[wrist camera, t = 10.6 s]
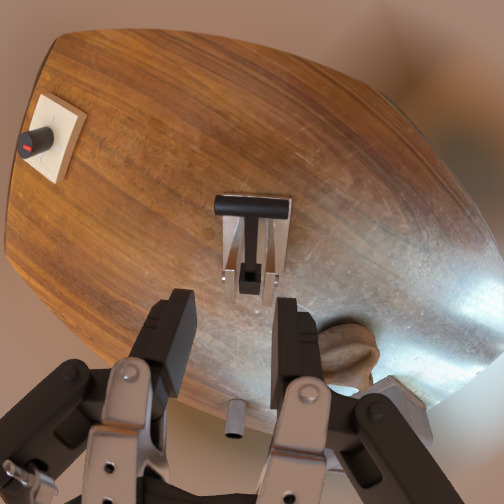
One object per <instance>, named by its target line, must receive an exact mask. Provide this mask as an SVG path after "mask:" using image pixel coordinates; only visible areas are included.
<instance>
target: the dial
mask: <svg viewBox="0 0 504 504" xmlns="http://www.w3.org/2000/svg"><path fill="white" fill-rule="evenodd" d="M53 141H54V135H53V132H52V130H51V129H50V128H49V127H42V128H38V129H35V130H31V131H28V132H24V133H22V134H21V135H20V137H19V139H18V143H17V148H18V153H19V155H20V156H21V157H22V158H23V159H27V158H30V157H32V156H35V155H37V154H40V153H42V152H45V151H48V150H49V149H50V148H51V147H52V145H53Z"/></svg>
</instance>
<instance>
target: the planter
mask: <svg viewBox="0 0 504 504" xmlns="http://www.w3.org/2000/svg"><path fill="white" fill-rule="evenodd" d="M245 412H246V402H245V401H243V400H240V399H233V400H230V401H229V406H228V413H227V421H226V428H225V436H226V437H228V438H231V439H241V438H243V432H244V423H245Z"/></svg>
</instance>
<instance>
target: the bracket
mask: <svg viewBox="0 0 504 504" xmlns="http://www.w3.org/2000/svg"><path fill="white" fill-rule="evenodd" d="M223 195H228V196H247V197H262V198H276V199H288V200H289V216H288V220H281V219H267V218H259V225H258V243H257V262H256V263H259V264H262V267H261V274H264V282H263V303H262V305H263V306H272V299H273V290H274V287H278V281H279V275H281V276H283V272H284V264H285V256H286V248H287V240H288V231H289V223H290V214H291V205H292V197H291V196H281V195H268V194H253V193H236V192H224V194H223ZM241 262H245V247H244V217H237V216H223V273H222V283H225V303H232V304H234V303H235V298H236V292H237V286H238V280H239V275H240V267H241Z"/></svg>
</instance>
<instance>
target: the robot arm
mask: <svg viewBox="0 0 504 504" xmlns="http://www.w3.org/2000/svg"><path fill="white" fill-rule="evenodd" d="M196 328H197V314H196V305H195V295H194V291H193V290H187V289H178V288H175V289H174V290H173V292H172V294H171V296H170V298H169V300H162V299H161V300H160V301H159V302H158V303H156V304H155V305H154V306H153V307H152V308H151V310H150V312H149V314H148V316H147V319H146V321H145V323H144V326H143V327H142V329H141V331H140V333H139V335H138V337H137V339H136V341H135V344H134V346H133V348H132V350H131V352H130V354H129V356H128V357H127V358H123V359H121V360H119V361H118V362H116V363H115V364H114V366H113V367H112V368H110V369H89V368H88V366H87V365H86V364H85V363H84V362H83V361H81V360H78V359H70V360H67V361H65V362H63V363H62V364H61V365H60V366H59V367H57V368H56V369H55V370H54V371H53V372H52V373H50V374H49V375H48V376H47V377H46V378H45V379H44V380H43V381H42V382H40V383H39V384H38V385H37V386H36V387H35V388H34V389H32V390H31V391H30V392H29V393H28V394H27V395H26V396H25V397H24V398H23V399H21V400H20V401H19V402H18V403H17V404H16V405H15V406H14V407H13V408H12V409H11V410H10V411H9V412H7V413H6V414H5V416H3V417H2V418H1V419H0V496H1V497H2V499H3V500H4V502H5V503H6V504H50V503H51V500H52V498H53V497H54V496H57V494H58V488H57V486H56V485H55V482H54V481H55V480H56V479H57V478H58V477H59V476H60V475H61V474H62V473H63V472H64V471H65V470H66V469H67V468H68V467H69V466H70V465H71V464H72V463H73V462H74V461H75V460H76V459H77V458H78V457H79V456H80V455H81V454H82V453H83V452H84V451H85V450H86V457H85V465H84V474H83V486H82V494H81V495H79V496H78V497H76V498H74V499H72V500H70V501H68V502H66V503H64V504H320V500H321V495H322V491H323V485H324V480H325V475H326V469H327V458H326V456H325V455H324V450H325V448H327V449H332V451H333V453H334V454H335V456H336V458H337V460H338V461H339V463H340V465H341V466H342V468H343V470H344V472H345V473H346V475H347V477H348V478H349V480H350V482H351V483H352V485H353V487H354V488H355V490H356V492H357V493H358V495H359V497H360V498H361V500H362V502H363V503H364V504H464V502H463V501H462V499H461V498H460V496H459V495H458V493H457V492H456V490H455V489H454V487H453V486H452V484H451V483H450V481H449V480H448V479H447V477H446V476H445V474H444V473H443V472H442V470H441V468H440V467H439V466H438V464H437V463H436V461H435V460H434V458H433V457H432V456H431V454H430V453H429V452H428V450H427V449H426V447H425V446H424V444H423V443H422V442H421V440H420V439H419V437H418V436H417V435H416V433H415V432H414V431H413V429H412V428H411V426H410V425H409V424H408V422H407V421H406V420H405V418H404V417H403V415H402V414H401V413H400V411H399V410H398V409H397V407H396V406H395V405H394V403H393V402H392V401H391V400H390V399H389V398H388V397H387V396H385V395H383V394H380V393H369V394H366V395H364V396H363V397H361V398H360V399H356V398H352V397H348V396H344V395H341V394H338V393H336V392H334V391H333V390H332V389H330V388H329V387H328V385H327V384H326V382H325V380H324V378H323V371H322V364H321V357H320V350H319V344H318V336H317V330H316V323H315V321H314V319H313V318H312V316H311V315H310V314H309V312H297V302H296V298H282V297H277V299H276V306H275V314H274V321H273V329H272V360H271V403H270V409H277V422H276V425H275V429H274V433H273V436H272V440H271V444H270V447H269V451H268V454H267V458H266V461H265V465H264V468H263V471H262V474H261V477H260V480H259V483H258V486H257V489H256V492H255V495H254V494H238V493H235V494H226V495H216V496H196V495H193V494H191V493H188V492H186V491H184V490H182V489H179V488H177V487H175V486H173V485H171V484H170V470H169V464H168V460H167V456H166V430H167V408H166V405H167V402H168V398H169V397H172V398H178V394H179V390H180V387H181V383H182V379H183V376H184V372H185V369H186V365H187V361H188V358H189V354H190V351H191V347H192V344H193V340H194V337H195V333H196ZM113 471H114V472H113Z"/></svg>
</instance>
